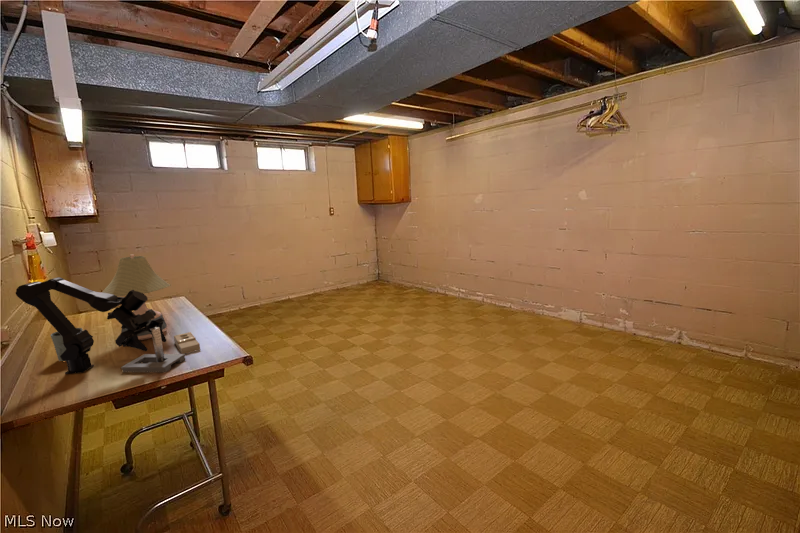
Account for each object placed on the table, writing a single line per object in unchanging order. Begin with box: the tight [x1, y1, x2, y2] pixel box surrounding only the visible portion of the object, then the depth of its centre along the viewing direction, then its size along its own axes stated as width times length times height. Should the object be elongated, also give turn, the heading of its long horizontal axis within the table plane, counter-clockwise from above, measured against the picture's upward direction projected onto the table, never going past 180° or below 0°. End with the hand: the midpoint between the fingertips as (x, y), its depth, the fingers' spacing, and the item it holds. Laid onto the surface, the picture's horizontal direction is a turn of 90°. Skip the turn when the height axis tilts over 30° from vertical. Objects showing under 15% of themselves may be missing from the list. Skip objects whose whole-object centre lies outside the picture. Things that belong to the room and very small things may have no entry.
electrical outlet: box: [173, 331, 201, 355], centre depth 164 cm, size 7×4×18 cm
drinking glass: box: [50, 327, 84, 362], centre depth 154 cm, size 10×10×12 cm
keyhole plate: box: [120, 353, 186, 373], centre depth 144 cm, size 18×12×2 cm, turn 86°
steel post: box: [151, 327, 165, 362], centre depth 143 cm, size 5×5×16 cm
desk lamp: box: [102, 254, 171, 341], centre depth 175 cm, size 26×28×42 cm
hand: (156, 345), depth 143 cm, fingers open, 9 cm apart
